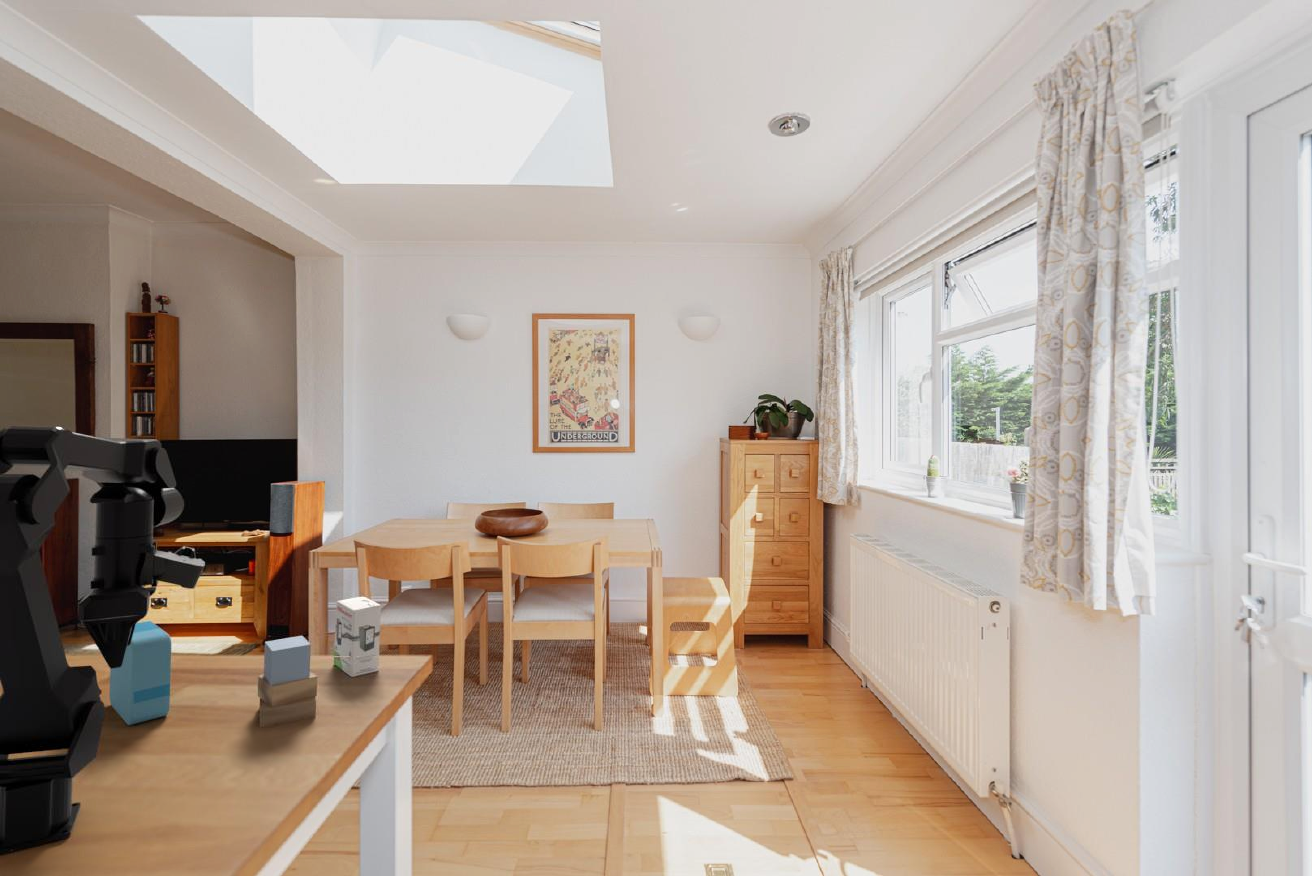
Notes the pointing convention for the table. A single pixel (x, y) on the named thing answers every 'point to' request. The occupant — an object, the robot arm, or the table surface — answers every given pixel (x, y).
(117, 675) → the data package
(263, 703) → the lower slab
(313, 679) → the upper slab
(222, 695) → the table surface
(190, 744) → the table surface
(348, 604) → the ink box
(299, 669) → the blue cube
